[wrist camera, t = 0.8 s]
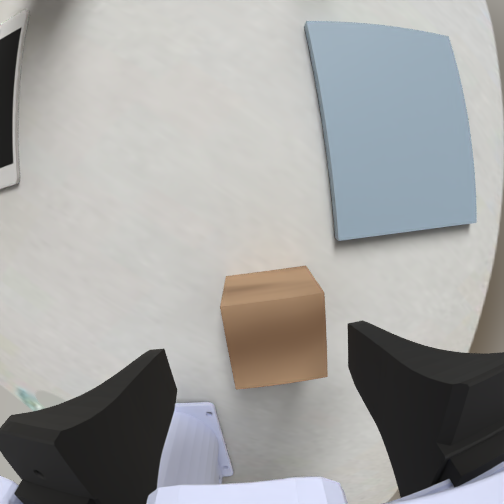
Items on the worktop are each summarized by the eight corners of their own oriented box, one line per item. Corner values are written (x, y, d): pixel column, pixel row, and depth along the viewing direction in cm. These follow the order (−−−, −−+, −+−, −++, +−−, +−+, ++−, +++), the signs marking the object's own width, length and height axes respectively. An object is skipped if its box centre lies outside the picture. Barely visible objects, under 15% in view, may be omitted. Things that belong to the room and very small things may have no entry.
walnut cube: (310, 335, 21) (327, 376, 16) (237, 345, 21) (236, 389, 16) (305, 265, 20) (324, 292, 15) (226, 275, 20) (220, 306, 15)
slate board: (470, 221, 19) (476, 222, 18) (335, 238, 19) (338, 240, 18) (443, 39, 16) (448, 36, 15) (304, 26, 16) (306, 21, 15)
